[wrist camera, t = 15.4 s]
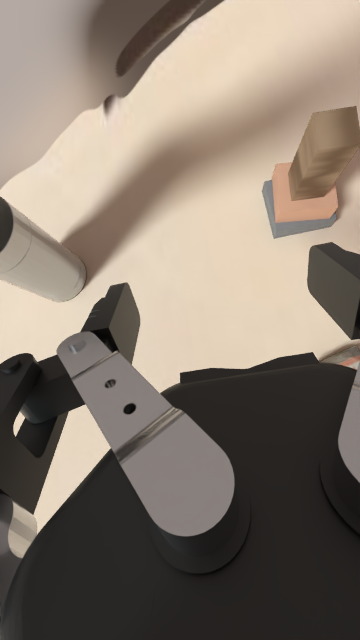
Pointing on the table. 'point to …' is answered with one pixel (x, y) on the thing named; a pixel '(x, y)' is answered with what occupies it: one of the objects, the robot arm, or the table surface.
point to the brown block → (324, 152)
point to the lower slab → (290, 227)
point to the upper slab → (299, 208)
